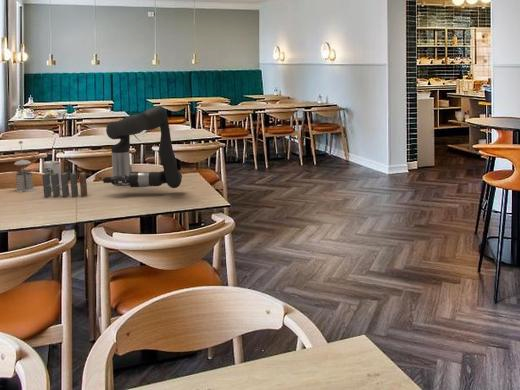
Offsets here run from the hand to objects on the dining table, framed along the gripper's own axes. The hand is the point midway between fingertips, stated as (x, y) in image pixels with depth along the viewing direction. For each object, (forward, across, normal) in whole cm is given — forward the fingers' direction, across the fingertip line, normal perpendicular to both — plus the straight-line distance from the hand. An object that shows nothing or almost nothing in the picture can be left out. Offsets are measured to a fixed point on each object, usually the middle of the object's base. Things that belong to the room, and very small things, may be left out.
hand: (104, 180), depth 271 cm
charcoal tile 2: (+14, 0, +8) cm, 16 cm away
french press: (+44, -17, +8) cm, 47 cm away
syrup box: (+29, -16, +8) cm, 34 cm away
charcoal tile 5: (+27, 0, +8) cm, 28 cm away
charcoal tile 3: (+19, 0, +8) cm, 20 cm away
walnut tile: (+10, 0, +8) cm, 13 cm away
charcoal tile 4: (+23, 0, +8) cm, 24 cm away
